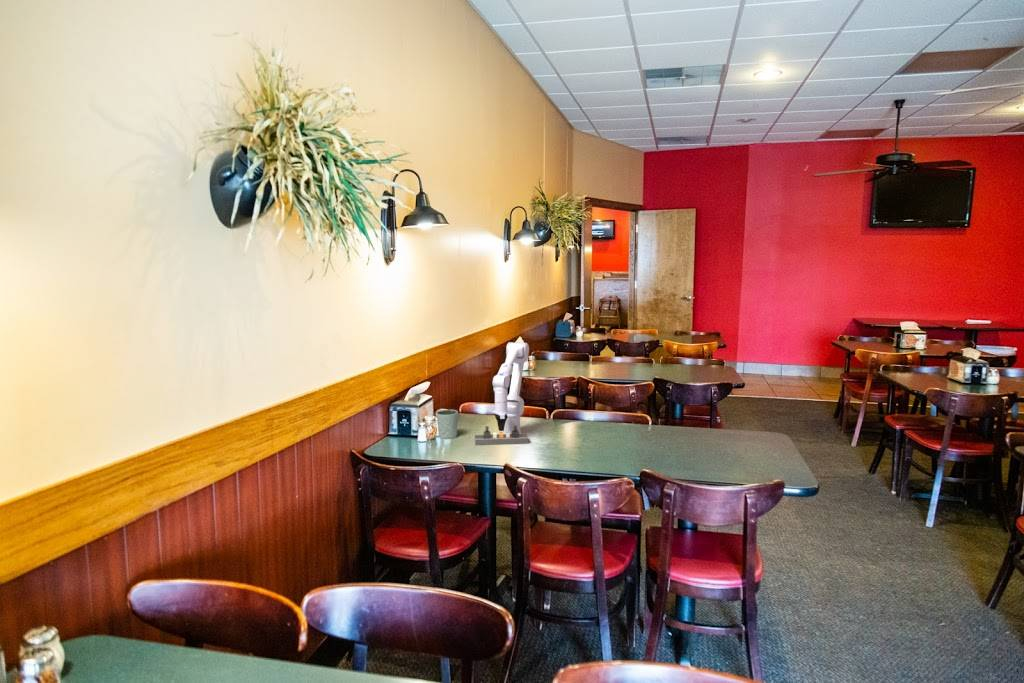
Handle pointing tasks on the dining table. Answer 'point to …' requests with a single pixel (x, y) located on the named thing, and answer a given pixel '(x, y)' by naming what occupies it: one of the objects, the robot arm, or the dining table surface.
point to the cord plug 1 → (487, 432)
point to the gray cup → (447, 423)
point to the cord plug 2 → (515, 432)
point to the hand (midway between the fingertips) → (501, 430)
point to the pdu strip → (501, 440)
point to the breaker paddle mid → (501, 434)
